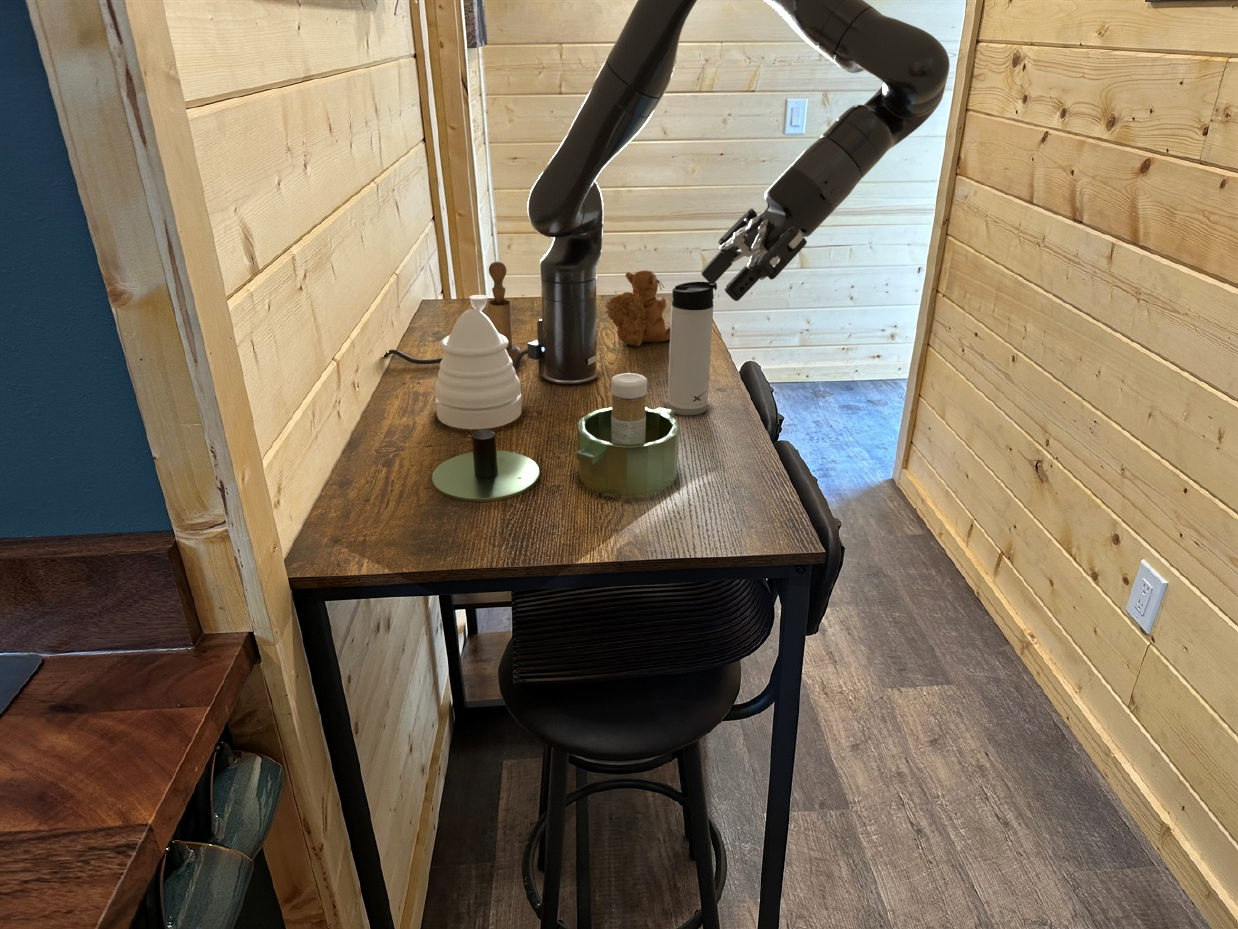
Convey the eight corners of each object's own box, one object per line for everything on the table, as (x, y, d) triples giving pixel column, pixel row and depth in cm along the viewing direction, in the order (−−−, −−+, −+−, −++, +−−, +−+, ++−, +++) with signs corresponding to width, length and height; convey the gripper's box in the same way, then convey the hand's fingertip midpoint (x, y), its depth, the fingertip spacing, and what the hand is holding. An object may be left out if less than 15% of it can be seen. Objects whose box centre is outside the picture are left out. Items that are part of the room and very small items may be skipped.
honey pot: (463, 395, 134) (454, 285, 126) (535, 406, 131) (531, 293, 123) (420, 425, 123) (408, 307, 115) (498, 437, 120) (491, 316, 112)
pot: (545, 488, 106) (543, 436, 103) (627, 441, 119) (628, 393, 116) (626, 519, 99) (627, 463, 96) (704, 465, 112) (707, 415, 109)
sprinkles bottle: (635, 463, 112) (637, 369, 106) (650, 477, 108) (654, 381, 102) (604, 470, 110) (604, 374, 104) (619, 484, 106) (620, 386, 100)
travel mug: (707, 417, 127) (715, 289, 118) (664, 414, 128) (669, 286, 119) (711, 402, 133) (719, 278, 124) (670, 399, 134) (675, 276, 125)
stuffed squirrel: (680, 335, 164) (683, 269, 158) (640, 354, 154) (641, 283, 148) (638, 326, 169) (640, 262, 163) (597, 344, 159) (597, 275, 153)
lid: (410, 485, 106) (404, 438, 103) (485, 448, 116) (482, 405, 113) (487, 517, 99) (484, 468, 96) (561, 476, 109) (560, 430, 106)
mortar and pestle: (504, 371, 145) (499, 268, 137) (476, 364, 148) (469, 263, 140) (528, 360, 150) (524, 261, 142) (500, 354, 153) (494, 256, 145)
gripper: (770, 158, 104) (679, 254, 106) (822, 171, 91) (718, 280, 94) (804, 200, 107) (716, 292, 110) (859, 219, 95) (758, 323, 97)
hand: (717, 287), depth 102 cm, fingers open, 8 cm apart
